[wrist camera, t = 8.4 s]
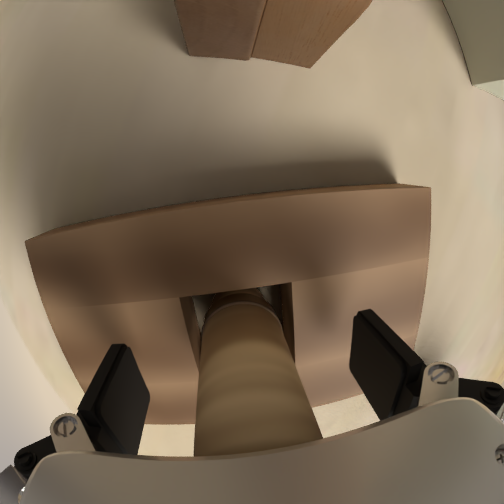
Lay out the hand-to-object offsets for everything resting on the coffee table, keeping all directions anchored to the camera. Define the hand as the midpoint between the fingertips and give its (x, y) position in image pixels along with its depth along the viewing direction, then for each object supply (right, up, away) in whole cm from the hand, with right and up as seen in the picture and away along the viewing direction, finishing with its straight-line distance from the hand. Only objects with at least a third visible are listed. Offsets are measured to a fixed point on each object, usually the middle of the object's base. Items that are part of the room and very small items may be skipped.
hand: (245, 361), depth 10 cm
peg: (-1, +1, +5) cm, 5 cm away
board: (-1, +1, +5) cm, 5 cm away
